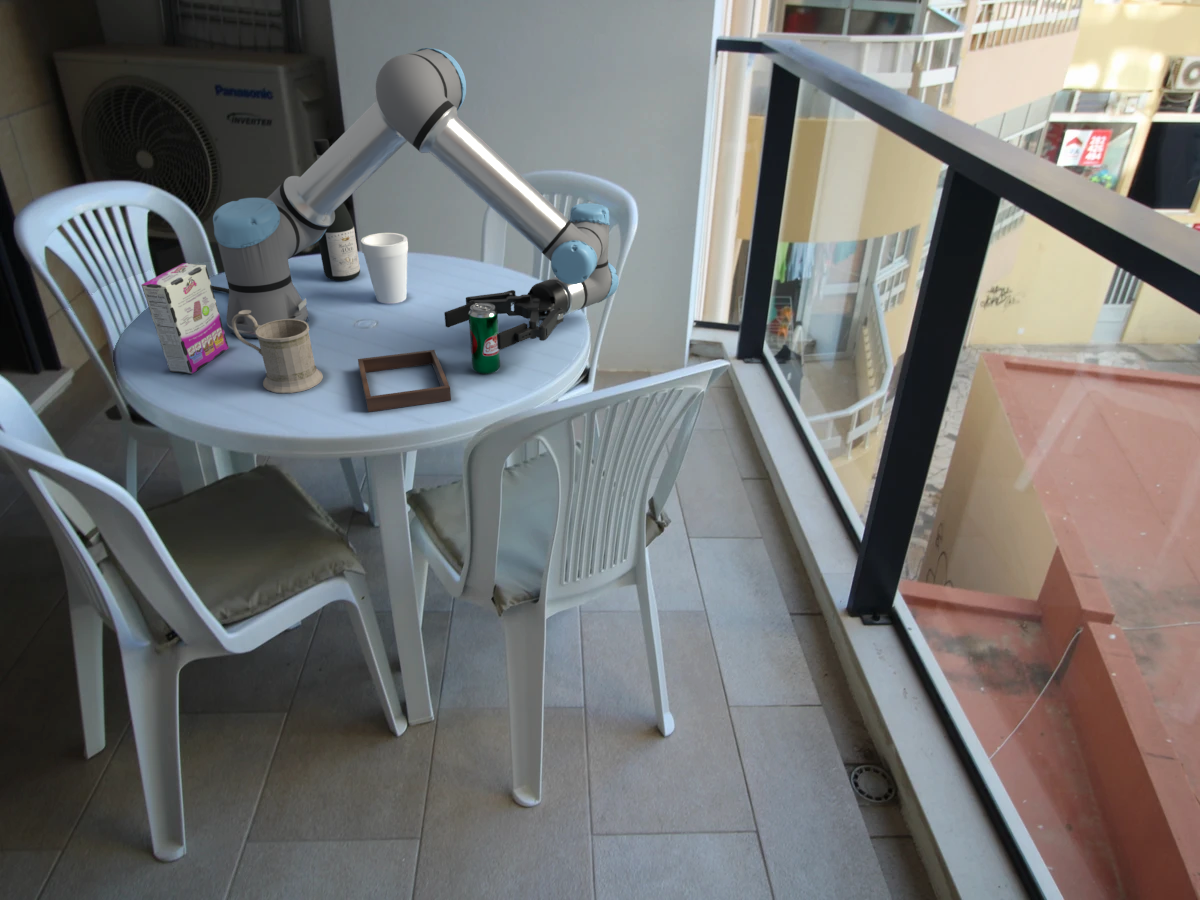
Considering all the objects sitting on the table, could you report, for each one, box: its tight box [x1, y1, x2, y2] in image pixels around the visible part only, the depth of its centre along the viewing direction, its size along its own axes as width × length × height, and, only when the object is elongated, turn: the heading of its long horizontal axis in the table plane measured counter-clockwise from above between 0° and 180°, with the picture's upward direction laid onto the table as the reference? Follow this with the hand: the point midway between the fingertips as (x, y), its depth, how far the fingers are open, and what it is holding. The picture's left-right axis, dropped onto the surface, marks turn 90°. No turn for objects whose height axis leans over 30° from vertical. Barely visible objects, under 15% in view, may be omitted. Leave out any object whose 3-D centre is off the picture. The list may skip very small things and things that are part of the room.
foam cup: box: [360, 232, 409, 305], centre depth 165 cm, size 10×9×13 cm
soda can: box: [468, 303, 501, 375], centre depth 138 cm, size 5×5×12 cm
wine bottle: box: [313, 138, 361, 282], centre depth 172 cm, size 8×8×30 cm
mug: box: [232, 310, 324, 394], centre depth 133 cm, size 14×10×12 cm
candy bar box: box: [140, 262, 230, 375], centre depth 137 cm, size 11×5×16 cm, turn 168°
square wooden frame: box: [357, 349, 452, 413], centre depth 134 cm, size 16×14×2 cm
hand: (471, 330), depth 135 cm, fingers open, 13 cm apart
